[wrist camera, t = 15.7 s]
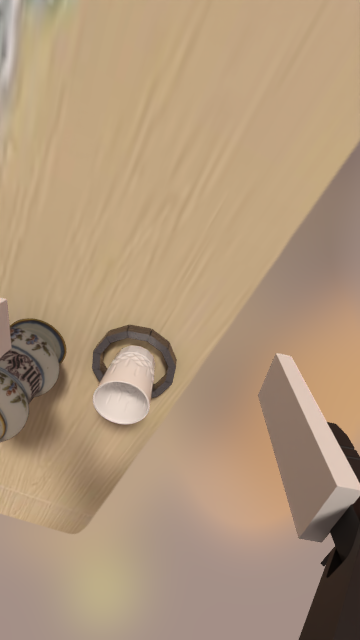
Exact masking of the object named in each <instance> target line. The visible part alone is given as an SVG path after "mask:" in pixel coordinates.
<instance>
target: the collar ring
mask: <svg viewBox="0 0 360 640" xmlns="http://www.w3.org/2000/svg"><path fill="white" fill-rule="evenodd" d="M125 338H132V339H137V340H143V341H147V342H149V343H150V344H151V345H153V346H154V347H155V348H157V349H158V350H159V351H161V352H162V354H163V356H164V358H165V361H166V363H167V365H168V369H167V373H166V375H165V376H164V377H162V378H161V379H160V380H159V381H158V382H157V383H156V384H153V388H152V395H151V398H153V397H157V396H159V395H160V394H162V393H163V392H164V391H165V390H166V389H167V388H168V387H169V386H170V385H172V382H173V378H174V373H175V369H176V361H177V360H176V357H175V354H174V352H173V350H172V347H171V345H170V343H169V341H167V340H166V339H165V338H163V337H162V336H161V335H159V334H158V333H157V332H155V331H154V330H153V329H152V330H151V329H150V328H145V327H139V326H134V325H127V326H123V327H120V328H117V329H113V330H110V331H109V332H108V333H107V334H106V335H105V336H104V338H103V339H102V340H101V341H100V342H99V343H98V345H97V346H96V348H95V349H94V351H93V364H92V369H93V371H94V373H95V375H96V377H97V378H98V380H99V382H100V381H101V380H102V378H103V376H104V374H105V373H106V371H107V368H106V366H105V364H104V363H103V358H104V350H105V349H106V348H107V347H108V345H109V344H110V343H112V342H115V341H119V340H122V339H125Z"/></svg>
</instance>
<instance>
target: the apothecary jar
mask: <svg viewBox="0 0 360 640" xmlns="http://www.w3.org/2000/svg"><path fill="white" fill-rule="evenodd" d="M10 337H11V347H12V348H11V349H10V350H8V351H7V352H6V353H5V354H4V355H3V356H2V357H1V358H0V442H3V441H6V440H8V439H10V438H12V437H14V436H15V435H17V434H18V433H19V432H20V431H21V430H22V428H23V427H24V425H25V423H26V421H27V418H28V414H29V405H28V404H29V403H30V402H31V400H32V399H33V398H34V397H37V396H40V395H42V394H44V393H46V392H47V391H49V390H50V389H51V388H52V387H53V386H54V384H55V383H56V381H57V379H58V375H59V364H60V363H61V362H62V361H63V359H64V357H65V354H66V345H65V342H64V339H63V338H62V336H61V334H60V333H59V332H58V331H57V330H56V329H55V328H54V327H52V326H51V325H49V324H48V323H46V322H43V321H41V320H37V319H21V320H18V321H16V322H14V323H13V324H12V325H11V326H10Z"/></svg>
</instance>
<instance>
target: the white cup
mask: <svg viewBox="0 0 360 640" xmlns="http://www.w3.org/2000/svg"><path fill="white" fill-rule="evenodd" d="M154 369H155V360H154V357H153V355H152V354H151V353H150V352H149V351H148V350H147V349H145V348H143V347H141V346H134V345H130V346H127V347H124V348H122V349H121V350H120V351H119V352H118V353H117V355H116V357H115V358H114V360H113V361H112V363H111V364H110V366H109V368H108V369H107V371H106V373H105V374H104V376H103V378H102V380H101V381H100V383H99V385H98V387H97V388H96V390H95V392H94V394H93V404H94V407H95V409H96V410H97V412H98V413H99V414H100V415H101V416H102V417H104V418H105V419H107V420H109V421H111V422H114V423H117V424H133V423H136V422H139V421H141V420H142V419H143V418H145V416H146V415H147V414H148V412H149V408H150V401H151V395H152V388H153V381H154Z"/></svg>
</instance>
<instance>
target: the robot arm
mask: <svg viewBox="0 0 360 640" xmlns="http://www.w3.org/2000/svg"><path fill="white" fill-rule="evenodd" d="M11 348H12V347H11V337H10V326H9V315H8V305H7V299H3V298H0V358H1V357H2V356H3V355H4V354H5V353H6V352H7V351H8V350H10V349H11ZM258 397H259V401H260V404H261V408H262V411H263V415H264V418H265V422H266V425H267V429H268V432H269V435H270V439H271V443H272V446H273V450H274V453H275V456H276V460H277V463H278V467H279V471H280V474H281V478H282V481H283V485H284V488H285V492H286V495H287V499H288V502H289V506H290V510H291V513H292V516H293V520H294V523H295V527H296V531H297V534H298V538H299V539H305V540H311V541H317V542H322V541H323V540H324V539H325V538H326V537H327V535H328V534H329V533H331V535H332V538H333V541H334V543H335V547H334V548H333V549H332V550H331V552H330V553H329V554H328V555H327V556H326V557H325V558H324V560H323V561H322V562H321V564H322V565H323V566H325V565H326V566H325V569H324V572H323V575H322V577H321V580H320V583H319V586H318V588H317V591H316V594H315V596H314V599H313V602H312V605H311V607H310V610H309V613H308V616H307V618H306V621H305V624H304V626H303V629H302V632H301V635H300V638H299V640H360V456H359V455H358V453H357V451H356V450H354V446H353V445H352V443H351V441H350V440H349V438H348V436H347V435H346V434H345V433H344V432H343V431H342V430H341V429H340V428H339V427H338V426H337V425H336V424H334V423H329V422H326V420H325V418H324V416H323V414H322V412H321V411H320V409H319V407H318V405H317V403H316V401H315V399H314V398H313V396H312V394H311V392H310V390H309V388H308V386H307V385H306V383H305V381H304V379H303V377H302V375H301V374H300V372H299V370H298V368H297V366H296V364H295V362H294V361H293V359H292V357H291V356H288V355H283V354H278V353H276V354H275V357H274V359H273V361H272V364H271V366H270V369H269V371H268V373H267V376H266V378H265V380H264V383H263V385H262V388H261V390H260V392H259V394H258Z"/></svg>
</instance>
